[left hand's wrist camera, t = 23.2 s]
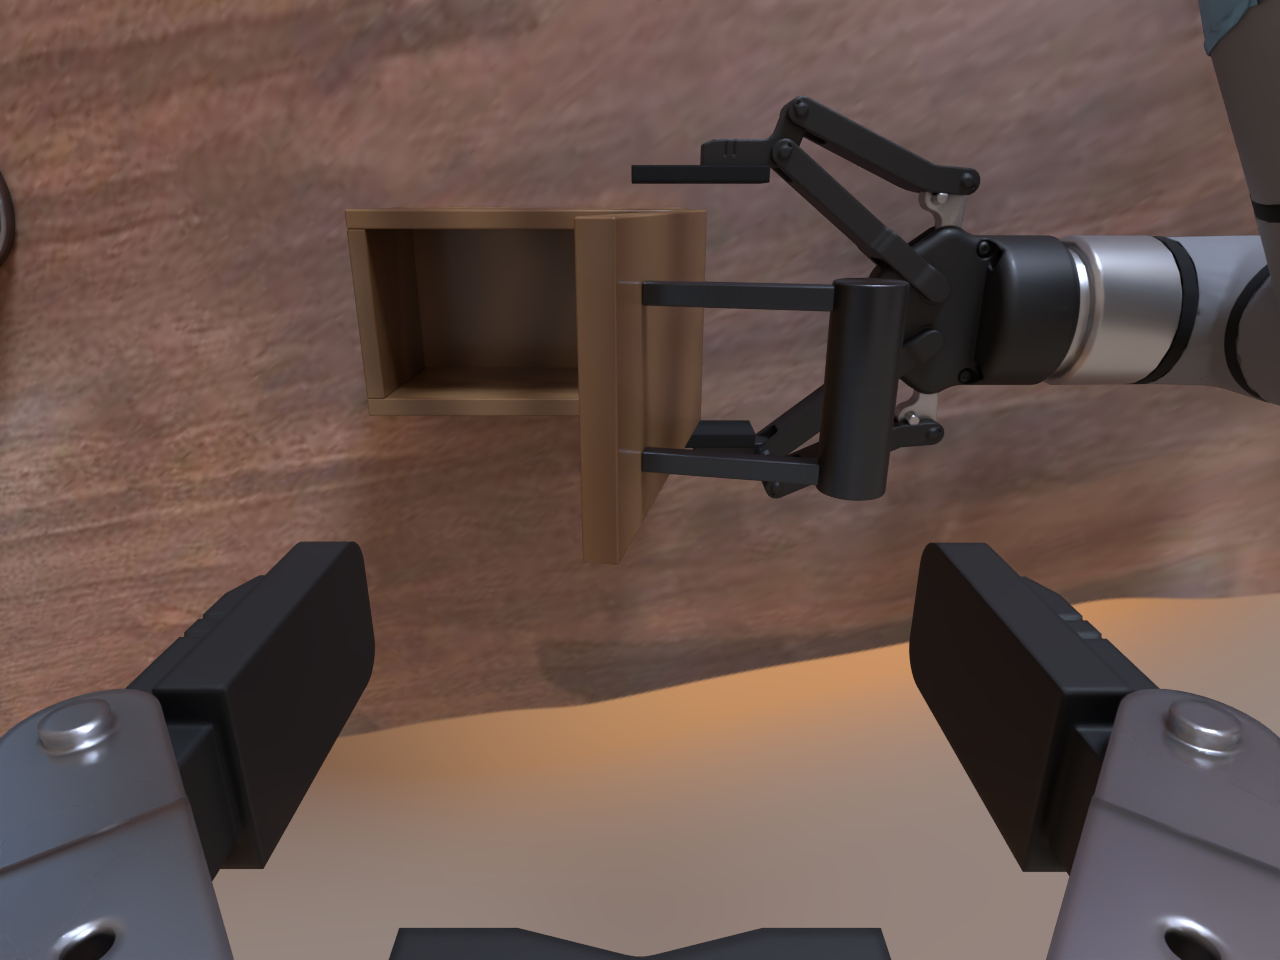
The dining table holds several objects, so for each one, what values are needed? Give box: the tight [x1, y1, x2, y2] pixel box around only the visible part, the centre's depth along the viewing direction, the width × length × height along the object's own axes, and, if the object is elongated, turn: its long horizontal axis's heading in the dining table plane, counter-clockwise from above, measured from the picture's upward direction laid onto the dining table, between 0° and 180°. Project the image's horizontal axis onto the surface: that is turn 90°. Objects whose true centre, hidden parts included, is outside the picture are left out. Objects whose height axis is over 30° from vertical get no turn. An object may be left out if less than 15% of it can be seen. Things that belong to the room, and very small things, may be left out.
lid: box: [574, 210, 910, 564], centre depth 28 cm, size 17×10×9 cm
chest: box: [345, 208, 690, 416], centre depth 42 cm, size 16×10×9 cm, turn 90°
